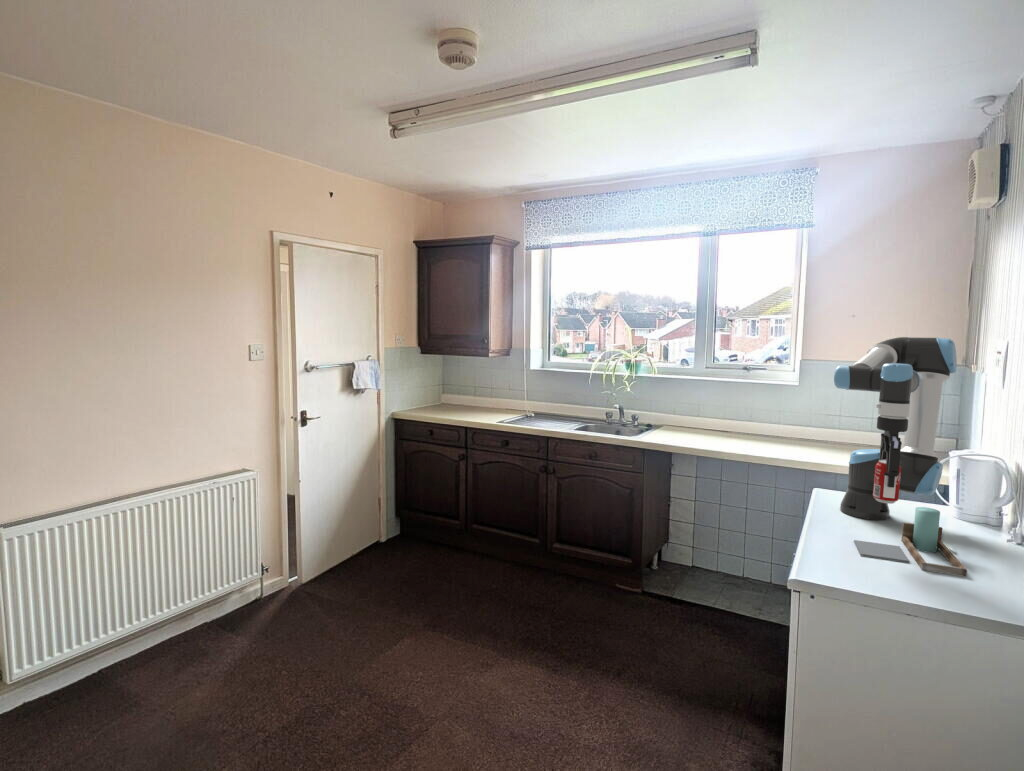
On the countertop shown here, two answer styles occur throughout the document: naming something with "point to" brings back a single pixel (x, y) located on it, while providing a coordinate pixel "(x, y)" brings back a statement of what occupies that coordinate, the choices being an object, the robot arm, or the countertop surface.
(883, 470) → the beverage can
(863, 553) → the coaster
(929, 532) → the can
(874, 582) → the countertop surface
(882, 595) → the countertop surface
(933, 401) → the robot arm
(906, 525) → the dispenser rack
